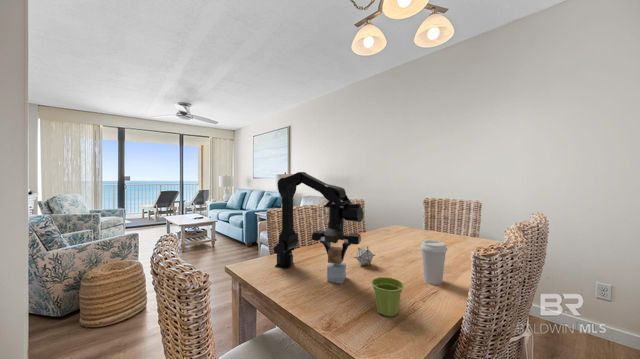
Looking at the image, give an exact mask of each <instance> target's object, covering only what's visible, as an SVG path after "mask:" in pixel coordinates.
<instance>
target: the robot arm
mask: <svg viewBox="0 0 640 359" xmlns="http://www.w3.org/2000/svg"><path fill="white" fill-rule="evenodd" d="M301 184H304V185H305V186H307V187H309V188H310V189H313V190H314V191H317V192H318V193H320V194H321V195H322V196H323V197H324V199H325V200H327V202H326V204H324V206H323V207H324V208H329V209H328V224H327V228H326V230H318V229H317V230H315V231H313V232H312V233H311V240H312V241H318V242H319V243H321V244H322V245H323V246H324V248H325V251H326V253H327V255H328V249H330V248H331V247H332V244H337V243H338V242H339V240H340V241H343V242H342V244H341V247H343V248H342V260H343V259H344V260H345V255H346V252H347V250H348V248H349V246H351V245H359V244H360V243H361V242H362V235H361V234H360V233H353V232H351V233H350V234H349V235H346V234H345V231H344V225H345V224H344V223H345V221H347V222H355V223H361V222H362V221H363V219H364V210H363V207H362V204H361V203H352V202H351V200H350V198H349V197H348V196H347V192H346V190H345V188H343V187H341V186H339V185H335V184H328V183H327V182H324V181H321V180H320V179H318V178H316V177H314V176H312V175H311V174H308V173H307V172H305V171H297V172H296V173H294V174H291V175H289V176H286V177H280V179H278V181H277V190H278V193H279V195H280V197H281V232H280V233H279V236H278V241H277V242H278V243H277V244H276V245H275V246H274V247H273V249H272V250H273V253H274V254H276V264H275V265H274V267H275V268H276V267H277V268H283V269H289V268H290V267H292V266H293V265H294V264H295V263H294V262H295V261H294V255H293V251H295V249H296V246H297V245H298V243H299V233H298V232H295V230H294V196H295V194H296V192H297V186H300V185H301ZM344 260H343V261H344Z"/></svg>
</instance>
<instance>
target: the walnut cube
mask: <svg viewBox="0 0 640 359" xmlns="http://www.w3.org/2000/svg"><path fill="white" fill-rule="evenodd" d="M342 248H343V246H332V245H331V248H330V249H328V254H327V263H329V264H330V263H335V264H341V263H343V262H344V260H345V258H344V259H343V260H342Z"/></svg>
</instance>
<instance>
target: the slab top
mask: <svg viewBox="0 0 640 359" xmlns="http://www.w3.org/2000/svg"><path fill="white" fill-rule="evenodd" d="M345 269H347V263H346V262H342V263H341V264H335V263H329V264H328V265H327V267H326V273H327V272H333V273H341V274H343V272H344V270H345Z"/></svg>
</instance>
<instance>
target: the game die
mask: <svg viewBox="0 0 640 359" xmlns="http://www.w3.org/2000/svg"><path fill="white" fill-rule="evenodd" d="M357 249H358V250H357V252H356V256H354V257H353V258H354V259H356V260H357V261H358V262H359V264H360V267H362V266H364V265H370V266H372V260H373V258H374V256H376V254H374V253H373V252H372V251H371V250H370V249H369V246H366V247H363V248H360V247H357Z"/></svg>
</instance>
